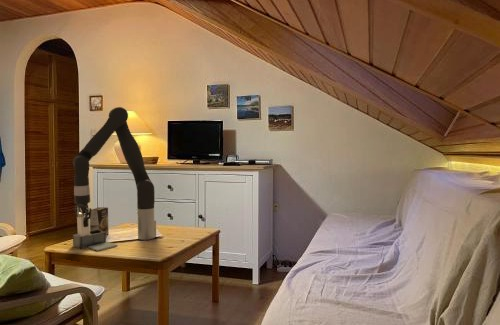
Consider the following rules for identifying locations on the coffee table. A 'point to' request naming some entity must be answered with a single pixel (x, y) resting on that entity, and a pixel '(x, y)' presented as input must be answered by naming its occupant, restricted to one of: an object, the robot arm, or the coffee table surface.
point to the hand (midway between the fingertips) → (83, 225)
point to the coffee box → (99, 219)
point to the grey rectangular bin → (89, 239)
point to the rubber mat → (103, 246)
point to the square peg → (82, 227)
